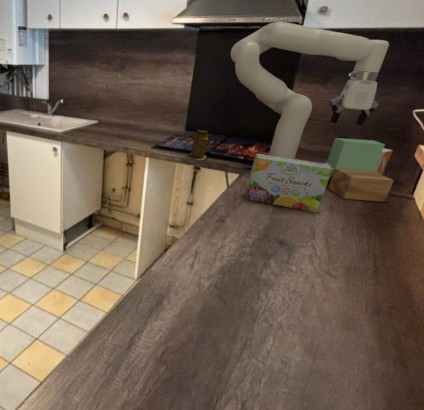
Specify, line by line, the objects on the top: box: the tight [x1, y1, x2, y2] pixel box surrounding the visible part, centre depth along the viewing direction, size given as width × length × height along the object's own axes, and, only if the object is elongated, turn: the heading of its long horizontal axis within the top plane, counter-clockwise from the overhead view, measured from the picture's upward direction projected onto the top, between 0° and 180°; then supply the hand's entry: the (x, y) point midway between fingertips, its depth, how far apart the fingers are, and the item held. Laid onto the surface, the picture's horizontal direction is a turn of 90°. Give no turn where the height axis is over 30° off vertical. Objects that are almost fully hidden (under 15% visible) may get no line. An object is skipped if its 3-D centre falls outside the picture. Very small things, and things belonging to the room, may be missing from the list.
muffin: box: [324, 160, 335, 179], centre depth 147 cm, size 6×6×7 cm
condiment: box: [187, 129, 209, 161], centre depth 162 cm, size 7×8×12 cm
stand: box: [328, 168, 395, 203], centre depth 129 cm, size 10×14×8 cm
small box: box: [366, 147, 393, 175], centre depth 145 cm, size 8×6×13 cm
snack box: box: [245, 153, 332, 213], centre depth 116 cm, size 21×6×15 cm, turn 68°
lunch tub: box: [326, 133, 386, 171], centre depth 135 cm, size 10×14×12 cm
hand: (346, 123), depth 138 cm, fingers open, 9 cm apart
